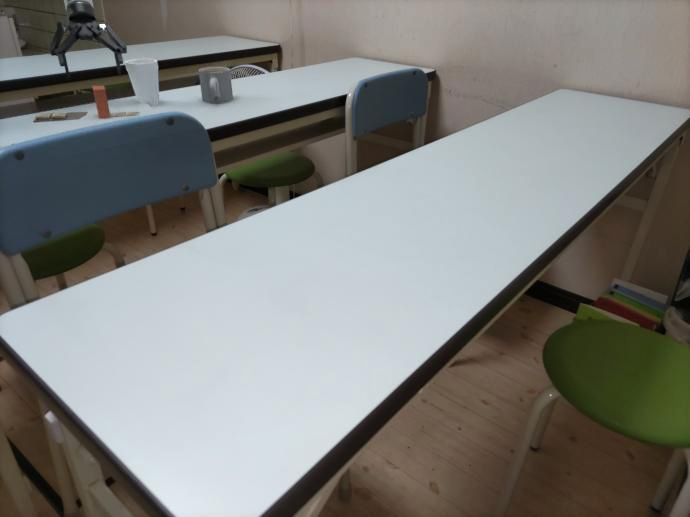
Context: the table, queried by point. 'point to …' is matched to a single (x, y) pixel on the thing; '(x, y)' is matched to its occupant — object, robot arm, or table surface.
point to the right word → (120, 114)
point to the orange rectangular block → (101, 102)
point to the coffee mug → (216, 84)
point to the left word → (59, 116)
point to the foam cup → (144, 80)
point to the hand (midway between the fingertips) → (94, 74)
